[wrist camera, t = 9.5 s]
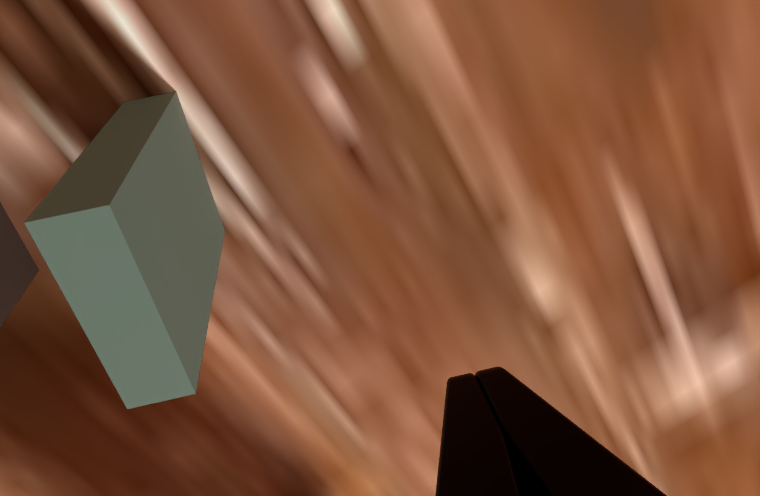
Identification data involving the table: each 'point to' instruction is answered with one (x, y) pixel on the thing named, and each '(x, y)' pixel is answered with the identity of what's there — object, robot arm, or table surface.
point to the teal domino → (137, 249)
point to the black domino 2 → (12, 266)
